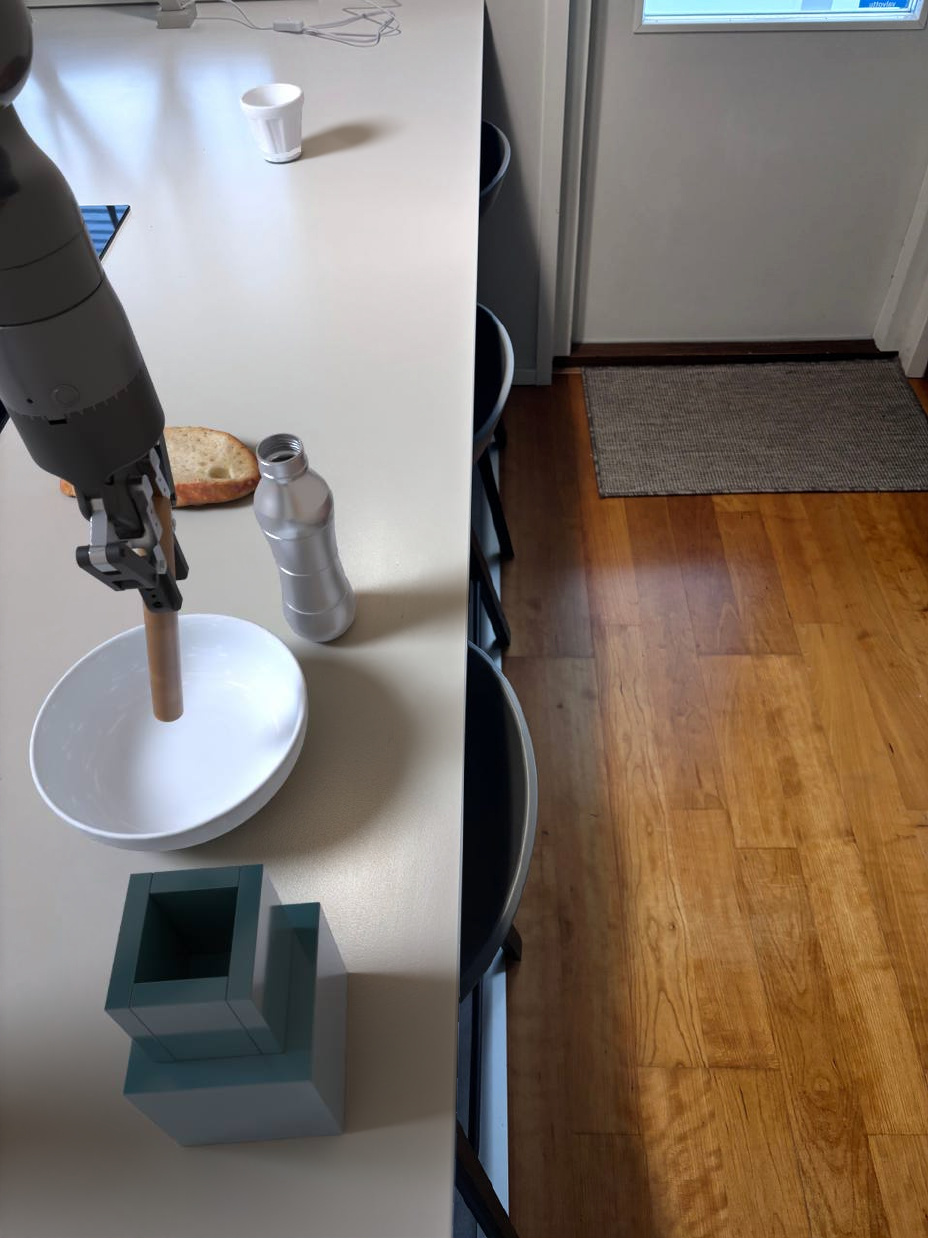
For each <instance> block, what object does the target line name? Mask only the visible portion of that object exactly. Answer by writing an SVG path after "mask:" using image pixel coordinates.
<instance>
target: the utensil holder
mask: <svg viewBox="0 0 928 1238" xmlns="http://www.w3.org/2000/svg"><path fill="white" fill-rule="evenodd" d="M114 951H115V952H114V956H113V962H112V966H111V971H110V972H111V973H110V977H109V982H108V988H107V991H106V998H105V1003H104V1009H103V1011H104V1012H105V1013H106V1014H107V1015H108V1016H109V1017H110V1018H111V1019H112V1020H113V1021H114V1022H115V1023H116V1024H117V1025H118V1026H119V1027H120V1028H121V1029H122V1030H123V1031H124V1032H125V1034H126V1035H127V1036H128V1037H129V1038H131V1043H130V1047H129V1048H130V1049H129V1053H128V1054H129V1055H128V1061H127V1065H126V1071H125V1077H124V1084H123V1090H122V1096H123V1098H125V1099H126V1100H127V1101H128V1102H129V1103H131V1104H132V1105H133V1106H134V1107H135V1108H137V1109H138V1111H140V1112H141V1113H142V1114H143V1115H145V1116H146V1118H148V1119H149V1120H150V1121H151V1122H153V1123H154V1124H155V1125H156V1126H157V1127H158V1128H159V1129H161V1131H163V1133H165V1134H166V1135H167V1136H168V1137H170V1138H171V1139H172V1140H173V1141H174V1142H175V1143H177V1145H179V1146H180V1147H194V1146H207V1145H219V1144H233V1143H247V1142H258V1141H259V1142H260V1141H272V1140H285V1139H299V1138H311V1137H312V1138H313V1137H325V1136H339V1135H343V1134H344V1123H345V1121H344V1119H345V1091H346V1090H345V1087H346V1086H345V1085H346V1051H347V1050H346V1049H347V1015H348V1014H347V1013H348V1012H347V1011H348V977H349V976H348V975H349V973H348V970H347V967H346V965H345V962H344V960H343V957H342V955H341V953H340V949H339V947H338V945H337V943H336V940H335V937H334V935H333V932H332V930H331V927H330V924H329V922H328V919H327V917H326V914H325V912H324V910H323V906H322V904H321V902H320V901H313V902H300V903H298V902H297V903H288V904H287V903H286V904H283V903H282V901H281V898H280V896H279V895H278V892H277V890H276V887H275V886H274V884H273V881H272V879H271V878H270V875H269V873H268V871H267V869H266V866H265V864H264V863H253V864H252V863H251V864H241V865H240V864H239V865H229V866H228V865H227V866H216V867H213V866H212V867H204V868H190V869H179V870H178V869H175V870H165V871H163V870H161V871H153V872H137V873H130V875H129V879H128V885H127V890H126V894H125V900H124V905H123V909H122V915H121V920H120V926H119V931H118V936H117V941H116V948H115V950H114Z"/></svg>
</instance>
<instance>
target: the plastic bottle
mask: <svg viewBox="0 0 928 1238" xmlns="http://www.w3.org/2000/svg"><path fill="white" fill-rule="evenodd" d="M255 449H256V450H255V455H256V457H257V459H258V467H259V471H260V474H261V476H262V478H261V480H260V482H259V484H258V486H257V488H256V490H255V491H254V494H253V505H252V509H253V514H254V517H255V519H256V521H257V523H258V525H259V527H260V530H261V531H262V533H263V535H264V537H265V540H266V541H267V543H268V545H269V547H270V550H271V553H272V556H273V558H274V560H275V564H276V567H277V570H278V575H279V582H280V586H281V604H282V605H281V607H282V613H283V616H284V618H285V620H286V622H287V624H288V625H289V627H290V629H291V630H292V631H293V632H294V633H295V634H296V635H297V636H299V637H300V638H303V639H305V640H307V641H311V642H315V643H323V642H324V643H325V642H328V641H329V642H330V641H333V640H336V639H337V638H339V637H340V636H342V635H343V634H344V633H346V631H347V630H349V628H350V626H351V625H352V624H353V622H354V620H355V616H356V609H357V608H356V606H357V605H356V603H357V602H356V601H357V600H356V595H355V592H354V589H353V587H352V584H351V582H350V581H349V579H348V576H347V575H346V573H345V570H344V567H343V563H342V561H341V558H340V555H339V548H338V543H337V542H338V541H337V536H336V525H335V524H336V523H335V520H336V519H335V500H334V493H333V491H332V489H331V487H330V486H329V484H328V483H327V481H326V479H325V478H324V477H323V476H322V475H321V474H320V473H318V472H317V471H316V470H314V469H313V468H312V467H310V462H309V461H310V460H309V457H308V454H307V453H306V451H305V446H304V443H303V441H302V438H300V437H299V436H297V435H295V434H293V433H287V432H278V433H274V434H273V433H272V434H271V435H268V436H266V437H265V438H263V439H262V440H260V441H259V443H258V444H257V445H256V448H255Z"/></svg>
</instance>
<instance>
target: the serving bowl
mask: <svg viewBox="0 0 928 1238" xmlns="http://www.w3.org/2000/svg"><path fill="white" fill-rule="evenodd" d="M178 623H179V640H180V656H181V673H182V689H183V706H184V712H183V714H182V716H181V717H180V718H179V719H177V720H175V721H173V722H162V721H160V720H158V719H157V718H156V717H155V716H154V714H153V705H152V695H151V684H150V674H149V664H148V654H147V643H146V633H145V623H143V624H140V625H137V626H134V627H132V628H130V629H128V630H125V631H123V632H121V633H119V634H117V635H115V636H112V637H111V638H109V639H108V640H106V641H105V642H102V643H101V644H99V645H98V646H96V647H95V648H94V649H92V650H91V651H89V652H88V653H86V654H85V655H84V656H82V658H81V659H80V660H78V661H76V663H74V665H72V666H71V667H70V668H69V669H68V670H67V671H66V672H65V674H64V675H63V676H62V677H61V678H60V679H59V680H58V681H57V683H56V684H55V685H54V687H53V688H52V689H51V691H50V692H49V693H48V695H47V697H46V698H45V700H44V701H43V703H42V705H41V707H40V709H39V711H38V713H37V715H36V718H35V722H34V724H33V728H32V732H31V736H30V741H29V766H30V767H29V768H30V772H31V776H32V779H33V782H34V785H35V788H36V789H37V792H38V793H39V796H40V797H41V798H42V800H43V801H44V803H45V804H46V805H47V806H48V807H49V809H50V810H51V811H52V812H53V813H54V814H55V815H56V816H57V817H58V818H60V819H61V820H62V821H63V822H64V823H66V824H67V825H68V826H70V827H71V828H72V829H73V830H75V831H77V832H78V833H80V834H82V835H83V836H85V837H86V838H88V839H91V840H93V841H94V842H95V841H96V842H98V843H100V844H102V845H105V846H108V847H113V848H115V849H116V848H117V849H120V850H125V851H126V850H127V851H130V852H131V851H132V852H145V853H146V852H147V853H150V852H151V853H153V852H154V853H155V852H156V853H157V852H169V851H175V850H180V849H181V850H182V849H186V848H189V847H193V846H197V845H200V844H204V843H206V842H208V841H209V842H210V841H211V840H214V839H216V838H218V837H220V836H222V835H225V834H226V833H228V832H230V831H232V830H234V829H235V828H237V827H239V826H240V825H242V824H243V823H244V822H246V821H247V820H249V819H250V818H251V817H253V816H254V815H255V814H257V812H259V811H260V810H261V809H262V808H263V807H265V806H266V804H267V803H268V802H270V800H271V799H272V798H273V797H274V796H275V795H276V794H277V793H278V791H279V790H280V789H281V787H282V786H283V785H284V784H285V782H286V780H287V779H288V778H289V776H290V774H291V773H292V771H293V769H294V768H295V765H296V763H297V761H298V759H299V756H300V754H301V752H302V748H303V745H304V741H305V738H306V734H307V727H308V720H309V719H308V718H309V697H308V689H307V688H308V687H307V682H306V678H305V674H304V671H303V668H302V666H301V664H300V662H299V660H298V659H297V657H296V655H295V653H294V652H293V651H292V649H291V648H290V647H289V646H288V645H287V644H286V643H285V642H284V641H283V640H282V639H281V638H280V637H279V636H277V635H276V634H274V633H273V632H272V631H270V629H267V628H265V627H263V626H262V625H260V624H259V623H258V624H257V623H255V622H253V621H250V620H247V619H244V618H241V617H236V616H233V615H232V616H231V615H227V614H220V613H219V614H218V613H189V614H188V613H187V614H178Z"/></svg>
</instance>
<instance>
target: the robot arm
mask: <svg viewBox="0 0 928 1238" xmlns="http://www.w3.org/2000/svg"><path fill="white" fill-rule="evenodd" d="M30 16H31V15H30V12H29V9H28V7H27V5H26V1H25V0H0V401H1V402H2V404H3V406H4V408H5V410H6V412H7V413H8V415H9V417H10V420H11V421H12V423H13V425H14V427H15V429H16V432H17V433H18V435H19V436H20V439H21V440H22V442H23V444H24V446H25V447H26V450H27V451H28V453H29V455H30V457H31V459H32V461H33V462H34V463H35V465H37V466H38V467H39V468H40V469H41V470H43V471H45V472H46V473H49V475H50V474H51V475H53V476H54V477H55V476H56V477H58V478H59V479H60V478H61V479H63V480H65V481H67V482H69V483H70V484H71V485H73V487H74V491H75V494H76V501H77V504H78V508H79V509H78V510H79V511H80V514H81V515H82V517H83V518H84V519H85V520H86V521H88V522H89V523H90V532H89V533H90V534H89V535H90V536H89V538H90V539H89V543H88V544H87V545H78V546H76V549H75V561H76V564H77V566H78V567H79V568H80V569H82V570H83V571H85V572H86V573H88V574H89V575H91V576H92V577H93V578H95V579H97V580H98V581H99V582H101V583H102V584H104V585H105V586H107V587H108V588H110V589H111V590H113V591H115V592H124V591H127V590H137V591H138V592H139V593H140V594H139V595H140V597H141V599H142V598H143V600H144V603H145V605H146V607H147V609H148V610H149V611H151V612H152V613H163V612H173V611H178V612H179V611H181V610H182V606H183V605H182V604H183V601H184V598H183V596H182V595H183V594H182V593H181V590H180V588H179V587H178V584H177V582H178V581H185V580H186V579H187V578H188V577H189V571H190V566H189V564H188V562H187V559H186V557H185V554H184V552H183V550H182V547H181V545H180V543H179V541H178V538H177V535H176V533H175V532H176V529H177V522H176V521H177V520H176V518H175V516H174V513H173V512H172V525H173V541H174V558H175V574H176V582H175V579H174V577H173V575H172V573H171V570H170V568H169V566H168V564H167V562H166V560H165V557H164V554H163V552H162V549H161V546H160V544H159V541H160V537H161V534H162V531H163V530H162V527H161V524H160V521H159V518H158V516H157V513H156V510H155V508H154V505H153V502H152V500H151V497H152V494H154V496H155V497H164V496H166V497H167V498H168V499H169V500H170V502H171V506H176V504H177V494H176V491H175V486H174V481H173V476H172V471H171V466H170V461H169V457H168V452H167V447H166V442H165V437H164V432H163V431H164V428H165V427H166V426H165V425H166V416H165V412H164V411H165V410H164V409H163V406H162V403H161V401H160V398H159V395H158V393H157V391H156V390H157V389H156V388H155V385H154V383H153V380H152V378H151V375H150V372H149V369H148V366H147V363H146V361H145V358H144V357H143V354H142V352H141V349H140V346H139V344H138V341H137V339H136V336H135V332H134V331H133V328H132V326H131V325H132V324H131V323H130V320H129V318H128V314H127V312H126V310H125V308H124V305H123V304H122V301H121V300H120V297H119V296H118V294H117V292H116V290H115V288H114V287H113V285H112V283H111V282H110V279H109V277H108V276H107V274H106V271H105V269H104V267H103V264H102V262H101V259H100V256H99V254H98V251H97V248H96V246H95V244H94V240H93V239H92V235H91V234H90V231H89V228H88V225H87V223H86V220H85V218H84V215H83V211H82V209H81V207H80V205H79V202H78V200H77V198H76V195H75V192H74V191H73V189H72V187H71V185H70V184H69V182H68V180H67V179H66V177H65V176H64V174H63V173H62V172H63V171H61V169H60V168H59V167H58V165H57V164H56V163H55V162H54V161H53V160H52V158H51V157H50V156H48V154H46V153H45V151H44V150H43V149H42V148H40V147H39V145H38V144H37V143H36V142H35V141H34V139H33V137H31V135H30V134H29V133H28V131H27V130H26V128H25V126H24V124H23V123H22V121H21V118H20V116H19V114H18V112H17V110H16V108H15V106H14V104H13V102H14V101H15V100H16V99H17V97H18V96H19V95H20V94H21V92H22V91H23V89H24V88H25V86H26V83H27V82H28V79H29V78H30V74H31V71H32V68H33V63H34V55H35V54H34V53H35V38H34V36H35V35H34V30H33V24H32V20H31V19H32V18H31V17H30ZM137 548H142V549H144V550H145V551H146V552H147V555H145V556H139V555H138V552H136V551H135V549H136V550H137Z"/></svg>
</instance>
